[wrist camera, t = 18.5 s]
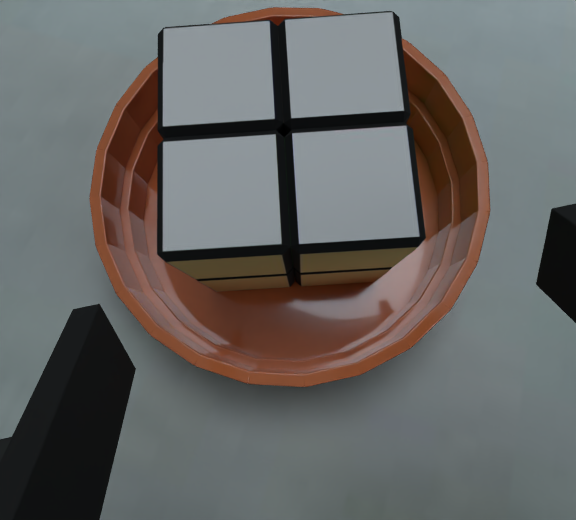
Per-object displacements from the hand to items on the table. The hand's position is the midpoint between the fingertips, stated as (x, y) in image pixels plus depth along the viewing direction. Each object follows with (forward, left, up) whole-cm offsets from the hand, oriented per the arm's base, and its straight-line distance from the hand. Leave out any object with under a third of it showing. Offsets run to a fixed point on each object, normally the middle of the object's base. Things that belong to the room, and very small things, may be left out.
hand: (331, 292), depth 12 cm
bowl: (0, -7, -13) cm, 15 cm away
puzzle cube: (0, -7, -13) cm, 14 cm away
